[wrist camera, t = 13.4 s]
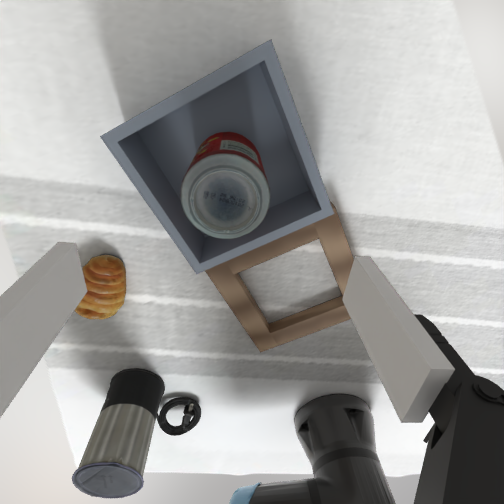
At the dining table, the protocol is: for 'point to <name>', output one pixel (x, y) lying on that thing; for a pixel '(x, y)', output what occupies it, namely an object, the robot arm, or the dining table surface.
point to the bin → (215, 121)
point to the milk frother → (128, 434)
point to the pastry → (103, 287)
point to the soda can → (226, 187)
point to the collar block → (300, 322)
